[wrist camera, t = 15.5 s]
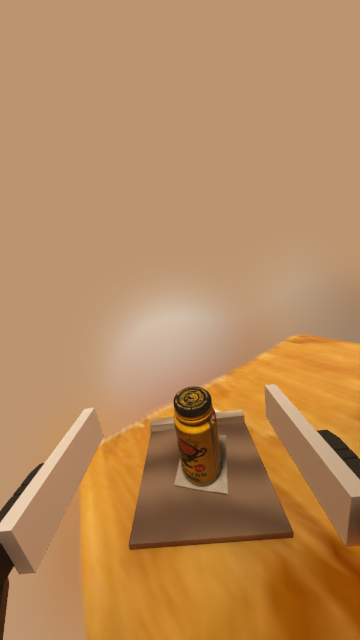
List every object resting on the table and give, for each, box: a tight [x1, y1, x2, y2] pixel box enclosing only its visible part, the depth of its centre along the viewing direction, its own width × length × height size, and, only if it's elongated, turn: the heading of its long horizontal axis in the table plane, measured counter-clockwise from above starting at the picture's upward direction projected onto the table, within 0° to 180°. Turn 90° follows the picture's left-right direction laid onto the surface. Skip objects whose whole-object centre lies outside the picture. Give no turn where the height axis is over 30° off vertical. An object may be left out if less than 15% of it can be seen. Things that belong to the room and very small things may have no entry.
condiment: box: [174, 387, 228, 494], centre depth 26 cm, size 7×8×12 cm
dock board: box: [129, 410, 293, 549], centre depth 26 cm, size 16×18×2 cm
